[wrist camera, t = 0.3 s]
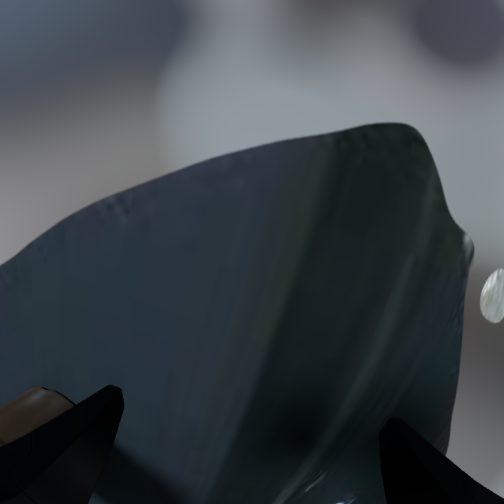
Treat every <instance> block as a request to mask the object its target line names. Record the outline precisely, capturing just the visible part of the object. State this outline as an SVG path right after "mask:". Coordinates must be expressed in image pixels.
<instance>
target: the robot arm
mask: <svg viewBox="0 0 504 504" xmlns="http://www.w3.org/2000/svg"><path fill="white" fill-rule="evenodd" d="M123 411H124V399H123V394H122V390H121V388H119V387H117V386H113V385H107V386H106V387H104V388H102V389H101V390H99V391H98V392H96V393H94V394H93V395H91V396H90V397H88V398H86V399H85V400H83V401H81V402H80V403H78V404H76V405H75V406H73V407H71V408H70V409H68V410H66V411H65V412H63V413H61V414H60V415H58V416H56V417H55V418H53V419H51V420H50V421H48V422H46V423H44V424H43V425H41V426H39V427H38V428H36V429H34V430H32V432H29V433H27V434H25V435H23V436H21V437H20V438H18V439H16V440H14V441H12V442H9V443H7V444H5V445H2V446H0V504H88V502H89V500H90V498H91V495H92V493H93V490H94V488H95V486H96V483H97V481H98V478H99V476H100V474H101V471H102V469H103V467H104V464H105V462H106V460H107V458H108V455H109V453H110V451H111V448H112V446H113V443H114V440H115V437H116V433H117V430H118V427H119V423H120V420H121V417H122V414H123ZM379 448H380V461H381V472H382V478H383V484H384V490H385V496H386V502H387V504H504V498H502V497H500V496H499V495H497V494H495V493H494V492H492V491H490V490H489V489H487V488H486V487H484V486H483V485H481V484H480V483H478V482H476V481H475V480H474V479H473V478H471V477H470V476H469V475H468V474H466V473H465V472H464V471H462V470H461V469H460V468H459V467H458V466H456V465H455V464H454V463H453V462H452V461H451V460H449V459H448V458H447V457H446V456H445V455H443V454H442V453H441V452H440V451H439V450H437V449H436V448H435V447H434V446H433V445H432V444H430V443H429V442H428V441H427V440H426V439H425V438H423V437H422V436H421V435H420V434H419V433H418V432H416V431H415V430H414V429H413V428H412V427H411V426H409V425H408V424H407V423H406V422H405V421H404V420H403V419H401V418H390V419H389V420H388V421H387V422H386V424H385V425H384V427H383V428H382V429H381V431H380V433H379Z"/></svg>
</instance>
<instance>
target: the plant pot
mask: <svg viewBox="0 0 504 504" xmlns="http://www.w3.org/2000/svg"><path fill="white" fill-rule="evenodd" d="M73 406H74V405H73V404H72V403H71V402H70V401H68V400H67V399H66V398H64V397H63V396H61V395H60V394H58V393H57V392H55V391H53V390H45V389H43V388H42V387H41V386H35V387H32V388H30V389H28V390H27V391H25V392H24V393H22V394H20V395H19V396H17V397H16V398H14V399H12V400H11V401H9V402H7V403H5V404H4V405H2V406H0V446H2V445H5V444H7V443H9V442H12V441H14V440H16V439H18V438H20V437H21V436H23V435H25V434H27V433H29V432H32V430H34V429H36V428H38V427H39V426H41V425H43V424H44V423H46V422H48V421H50V420H51V419H53V418H55V417H56V416H58V415H60V414H61V413H63V412H65V411H66V410H68V409H70V408H71V407H73Z"/></svg>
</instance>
